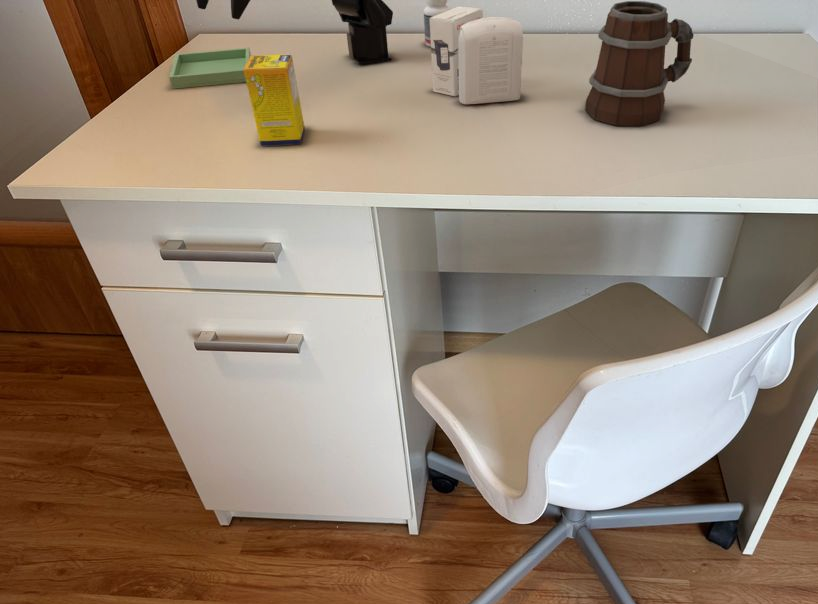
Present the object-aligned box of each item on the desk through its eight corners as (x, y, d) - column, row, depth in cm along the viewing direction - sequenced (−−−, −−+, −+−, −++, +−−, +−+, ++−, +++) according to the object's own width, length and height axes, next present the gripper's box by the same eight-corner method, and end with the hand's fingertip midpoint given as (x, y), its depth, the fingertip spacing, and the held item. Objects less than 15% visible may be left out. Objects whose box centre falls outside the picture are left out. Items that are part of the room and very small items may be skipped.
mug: (605, 131, 99) (618, 21, 89) (574, 102, 108) (584, 0, 98) (701, 119, 102) (724, 12, 92) (663, 92, 111) (681, -8, 101)
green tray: (251, 58, 128) (249, 47, 127) (251, 81, 118) (249, 69, 117) (178, 65, 126) (175, 53, 125) (172, 89, 116) (169, 77, 115)
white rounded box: (516, 92, 112) (519, 11, 104) (524, 101, 109) (527, 19, 101) (456, 98, 110) (454, 17, 102) (462, 107, 107) (460, 24, 99)
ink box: (460, 77, 118) (458, 4, 110) (483, 82, 116) (484, 8, 108) (431, 92, 113) (427, 16, 105) (455, 97, 111) (454, 20, 103)
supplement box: (265, 130, 101) (249, 55, 94) (305, 128, 102) (292, 53, 94) (259, 147, 97) (242, 68, 90) (301, 144, 97) (287, 66, 90)
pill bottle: (448, 48, 131) (446, -2, 125) (422, 47, 132) (419, -3, 126) (454, 40, 135) (452, -9, 129) (428, 39, 136) (426, -9, 130)
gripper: (135, -129, 94) (134, -6, 100) (209, -121, 84) (202, 14, 91) (208, -105, 102) (203, 7, 109) (282, -95, 93) (272, 27, 99)
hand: (218, 13), depth 102 cm, fingers open, 9 cm apart
